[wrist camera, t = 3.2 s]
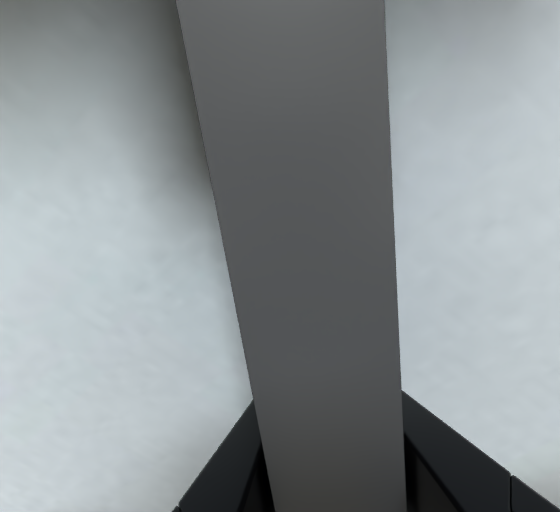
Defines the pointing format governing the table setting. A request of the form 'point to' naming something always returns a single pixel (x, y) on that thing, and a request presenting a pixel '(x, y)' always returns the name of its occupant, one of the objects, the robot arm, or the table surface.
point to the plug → (308, 236)
